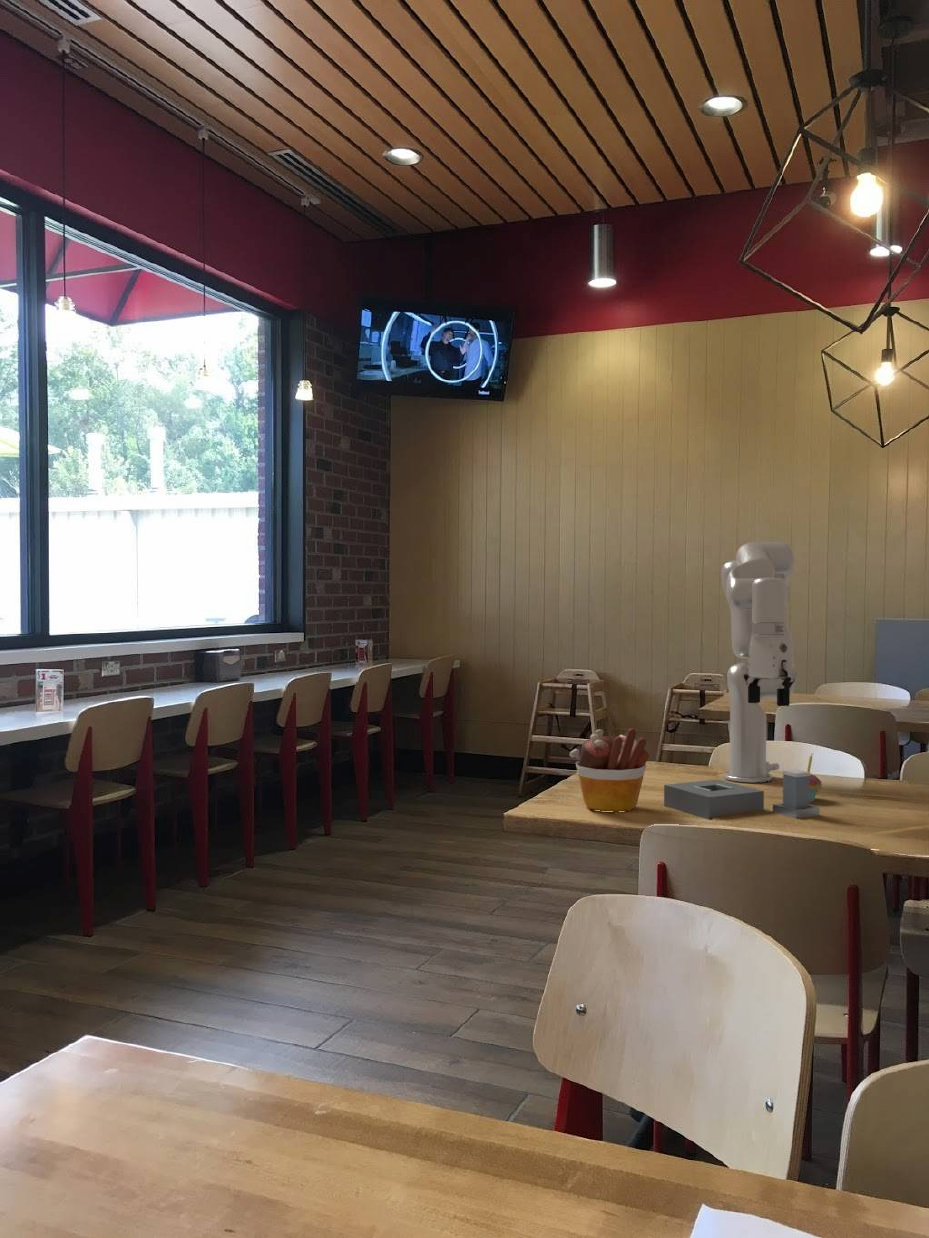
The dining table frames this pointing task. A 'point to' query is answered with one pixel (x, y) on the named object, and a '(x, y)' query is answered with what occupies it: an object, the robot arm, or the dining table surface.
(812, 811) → the box
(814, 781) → the cupcake
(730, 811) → the port block
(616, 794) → the bucket of meat
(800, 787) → the plug
